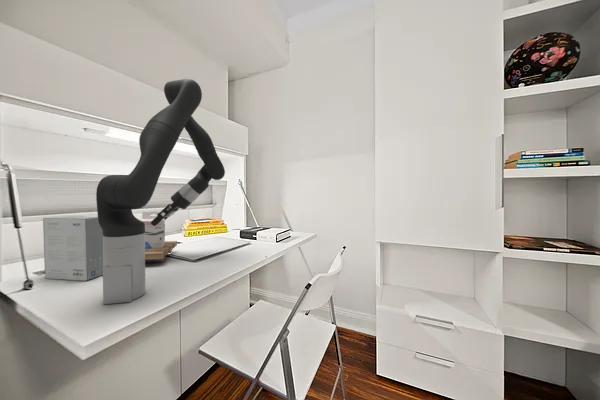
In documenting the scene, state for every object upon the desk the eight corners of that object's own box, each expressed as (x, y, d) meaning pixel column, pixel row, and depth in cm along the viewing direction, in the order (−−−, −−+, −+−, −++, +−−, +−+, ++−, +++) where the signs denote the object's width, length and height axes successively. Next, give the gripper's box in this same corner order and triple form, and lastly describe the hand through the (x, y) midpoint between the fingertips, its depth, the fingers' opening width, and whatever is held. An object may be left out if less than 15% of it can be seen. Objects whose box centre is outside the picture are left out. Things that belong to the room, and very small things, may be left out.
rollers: (163, 262, 93) (163, 255, 93) (128, 264, 90) (128, 257, 89) (172, 254, 105) (172, 247, 105) (141, 255, 102) (141, 248, 102)
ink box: (139, 249, 93) (138, 213, 93) (141, 246, 98) (141, 211, 97) (163, 247, 97) (163, 212, 96) (165, 245, 101) (165, 211, 101)
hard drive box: (109, 273, 81) (108, 216, 80) (86, 281, 73) (85, 218, 72) (69, 270, 82) (67, 214, 81) (43, 278, 75) (41, 217, 74)
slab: (162, 258, 88) (162, 253, 88) (119, 260, 85) (119, 255, 85) (176, 245, 110) (176, 240, 110) (143, 246, 106) (143, 242, 106)
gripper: (182, 189, 106) (154, 215, 103) (174, 189, 92) (142, 218, 90) (195, 201, 107) (168, 226, 105) (189, 203, 94) (157, 232, 91)
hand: (156, 223), depth 97 cm, fingers open, 8 cm apart
